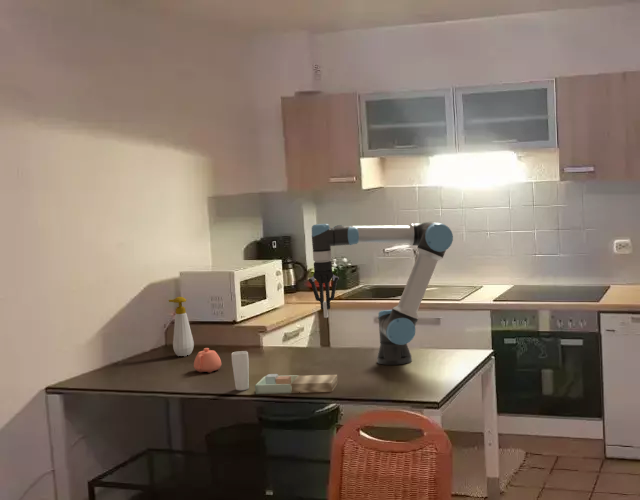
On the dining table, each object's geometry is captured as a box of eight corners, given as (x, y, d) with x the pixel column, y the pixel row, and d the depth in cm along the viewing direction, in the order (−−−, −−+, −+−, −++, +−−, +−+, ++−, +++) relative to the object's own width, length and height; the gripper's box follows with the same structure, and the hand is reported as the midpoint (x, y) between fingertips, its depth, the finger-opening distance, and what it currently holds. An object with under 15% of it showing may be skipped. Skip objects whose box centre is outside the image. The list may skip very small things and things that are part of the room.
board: (337, 383, 374) (337, 374, 374) (332, 391, 360) (331, 382, 360) (298, 384, 377) (298, 375, 377) (291, 392, 363) (291, 383, 363)
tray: (298, 383, 378) (298, 375, 378) (290, 393, 362) (289, 384, 362) (265, 384, 381) (264, 376, 380) (255, 394, 365) (255, 385, 365)
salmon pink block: (291, 385, 373) (290, 375, 372) (288, 388, 368) (287, 378, 368) (279, 386, 374) (278, 376, 373) (276, 389, 369) (275, 379, 369)
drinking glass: (234, 388, 378) (231, 351, 376) (250, 386, 378) (248, 350, 377) (233, 391, 371) (231, 354, 370) (250, 390, 372) (248, 353, 370)
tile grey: (277, 373, 373) (268, 374, 374) (275, 376, 368) (265, 377, 369) (278, 386, 374) (269, 386, 374) (276, 389, 369) (266, 389, 370)
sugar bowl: (226, 368, 418) (225, 345, 417) (210, 375, 406) (208, 352, 405) (203, 367, 424) (202, 345, 423) (186, 374, 411) (185, 351, 410)
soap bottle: (181, 352, 463) (176, 294, 461) (198, 353, 459) (194, 294, 456) (166, 357, 452) (161, 298, 449) (183, 358, 447) (178, 298, 445)
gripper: (339, 259, 390) (342, 315, 392) (308, 260, 392) (312, 316, 394) (336, 261, 382) (340, 318, 384) (305, 262, 385) (309, 319, 387)
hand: (326, 317), depth 389 cm, fingers closed
